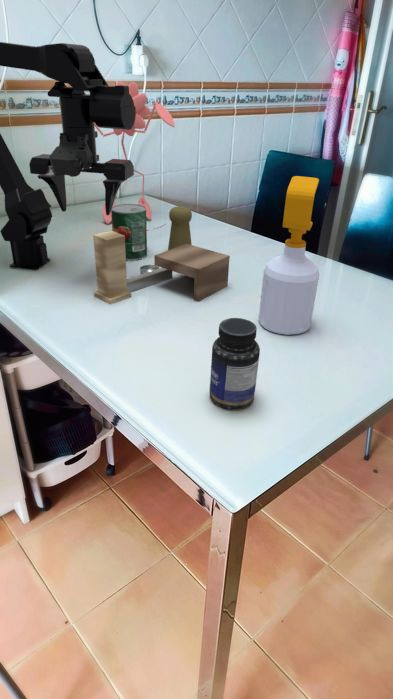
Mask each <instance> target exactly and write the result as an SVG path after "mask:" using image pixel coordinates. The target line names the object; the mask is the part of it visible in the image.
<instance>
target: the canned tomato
mask: <svg viewBox="0 0 393 699" xmlns="http://www.w3.org/2000/svg"><path fill="white" fill-rule="evenodd" d="M111 217H112V221H111V231H114V232H116V233H119V234H122V235H124V236H125V253H126V260H135V261H139V260H138V259H140V260H143V259H145V258H146V257H147V256H148V237H147V231H148V229H147V228H148V227H147V217H146V207H145V206H143V205H139V203H138V204H137V203H120V204H116V205H115V206H112V209H111ZM144 257H145V258H144ZM142 258H143V259H142Z"/></svg>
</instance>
